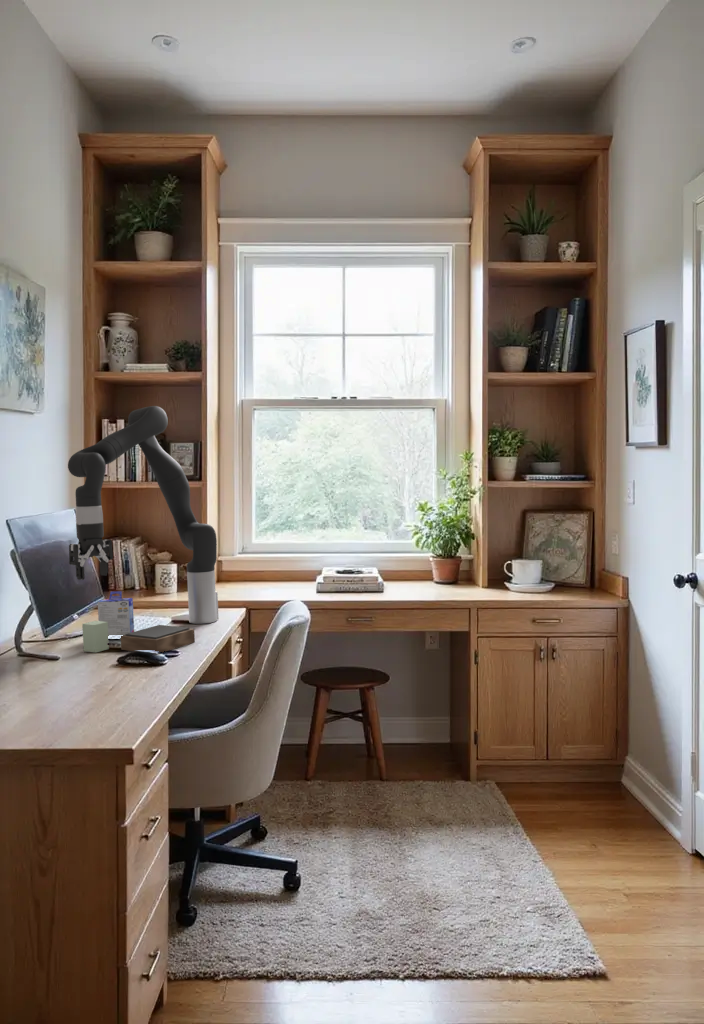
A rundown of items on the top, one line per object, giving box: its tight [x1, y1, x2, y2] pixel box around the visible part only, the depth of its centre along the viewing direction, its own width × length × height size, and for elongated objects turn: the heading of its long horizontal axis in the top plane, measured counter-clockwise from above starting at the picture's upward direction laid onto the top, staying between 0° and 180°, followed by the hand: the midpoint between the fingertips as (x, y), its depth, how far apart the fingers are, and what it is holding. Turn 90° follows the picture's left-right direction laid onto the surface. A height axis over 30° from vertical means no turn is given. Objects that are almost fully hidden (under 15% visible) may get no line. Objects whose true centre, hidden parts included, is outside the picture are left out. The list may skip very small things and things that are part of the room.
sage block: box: [81, 620, 110, 653], centre depth 241 cm, size 5×5×8 cm
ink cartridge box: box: [97, 590, 135, 636], centre depth 255 cm, size 10×6×14 cm, turn 92°
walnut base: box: [120, 624, 196, 653], centre depth 243 cm, size 16×14×4 cm
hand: (92, 577), depth 239 cm, fingers open, 8 cm apart
